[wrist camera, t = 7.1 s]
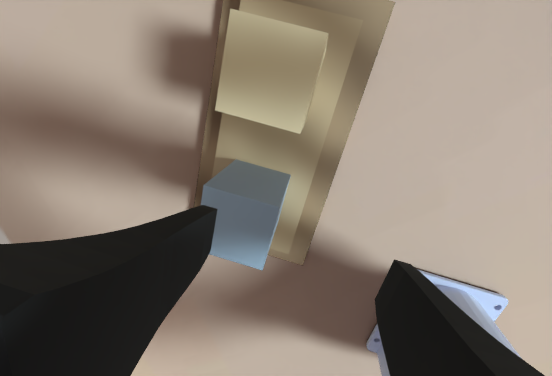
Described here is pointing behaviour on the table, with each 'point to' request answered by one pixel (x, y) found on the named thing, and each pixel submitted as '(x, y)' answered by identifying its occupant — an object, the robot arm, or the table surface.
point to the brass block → (269, 70)
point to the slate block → (245, 211)
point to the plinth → (321, 118)
